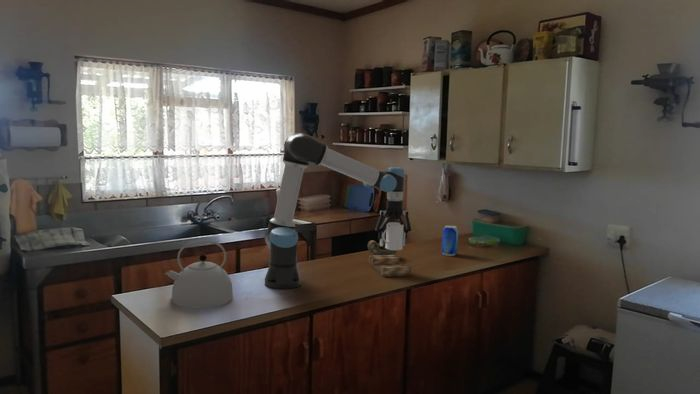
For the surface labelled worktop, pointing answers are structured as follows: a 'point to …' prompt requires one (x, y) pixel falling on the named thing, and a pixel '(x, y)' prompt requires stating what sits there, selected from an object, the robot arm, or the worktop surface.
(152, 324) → the worktop surface
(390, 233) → the mug
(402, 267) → the rack
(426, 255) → the worktop surface
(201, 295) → the kettle
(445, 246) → the beer can
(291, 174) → the robot arm
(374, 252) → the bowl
